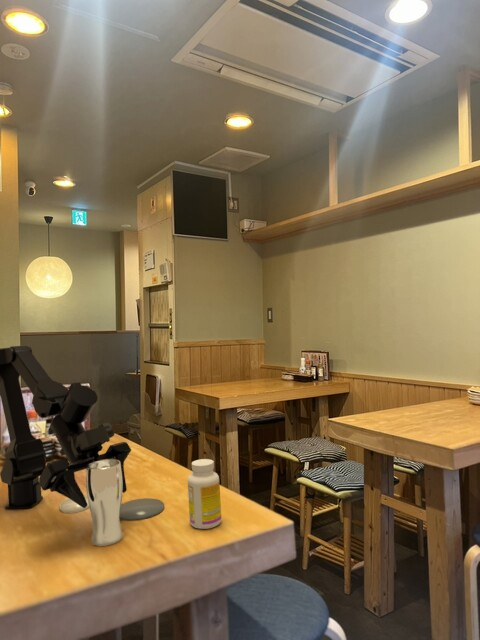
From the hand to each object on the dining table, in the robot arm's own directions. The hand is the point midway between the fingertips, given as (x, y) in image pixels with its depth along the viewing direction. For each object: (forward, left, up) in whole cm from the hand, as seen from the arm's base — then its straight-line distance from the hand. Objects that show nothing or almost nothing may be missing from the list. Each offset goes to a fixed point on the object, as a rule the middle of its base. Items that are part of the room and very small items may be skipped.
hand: (106, 498), depth 94 cm
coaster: (+3, +14, -8) cm, 17 cm away
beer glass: (0, 0, -8) cm, 8 cm away
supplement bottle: (+19, +6, -8) cm, 21 cm away
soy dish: (-13, +17, -8) cm, 23 cm away
